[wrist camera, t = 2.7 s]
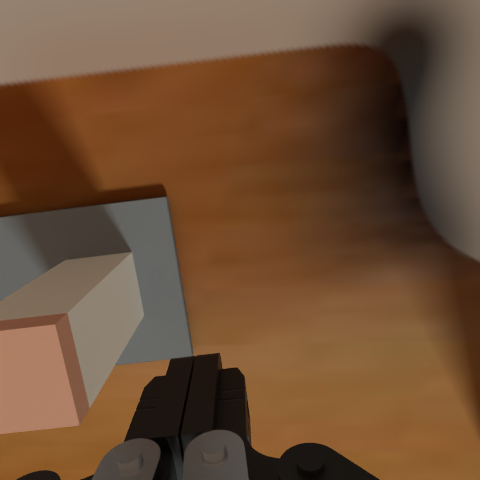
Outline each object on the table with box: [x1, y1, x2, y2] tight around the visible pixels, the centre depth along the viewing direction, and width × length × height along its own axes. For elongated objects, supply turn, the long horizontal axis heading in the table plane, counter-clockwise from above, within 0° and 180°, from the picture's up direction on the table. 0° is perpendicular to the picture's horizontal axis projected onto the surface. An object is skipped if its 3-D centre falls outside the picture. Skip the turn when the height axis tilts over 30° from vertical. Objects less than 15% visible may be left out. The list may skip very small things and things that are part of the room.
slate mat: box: [0, 196, 193, 365], centre depth 25 cm, size 18×10×1 cm, turn 97°
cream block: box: [0, 252, 144, 434], centre depth 19 cm, size 4×4×10 cm
